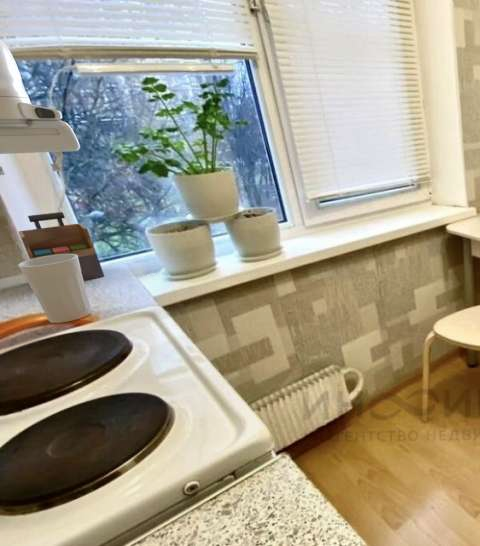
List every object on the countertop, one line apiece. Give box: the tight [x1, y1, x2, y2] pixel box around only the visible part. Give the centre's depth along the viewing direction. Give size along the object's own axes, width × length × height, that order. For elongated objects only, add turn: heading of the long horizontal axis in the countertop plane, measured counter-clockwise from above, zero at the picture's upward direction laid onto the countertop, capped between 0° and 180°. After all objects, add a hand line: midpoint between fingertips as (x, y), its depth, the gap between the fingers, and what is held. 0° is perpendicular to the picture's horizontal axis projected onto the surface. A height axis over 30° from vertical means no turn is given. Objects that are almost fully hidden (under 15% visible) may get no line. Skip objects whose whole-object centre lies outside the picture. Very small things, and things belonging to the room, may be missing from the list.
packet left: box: [33, 249, 53, 257], centre depth 102 cm, size 3×5×1 cm, turn 51°
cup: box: [17, 254, 93, 324], centre depth 83 cm, size 8×8×12 cm
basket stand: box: [78, 253, 105, 282], centre depth 105 cm, size 11×10×6 cm
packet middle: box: [51, 246, 71, 254], centre depth 104 cm, size 3×5×1 cm, turn 51°
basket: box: [17, 211, 97, 260], centre depth 103 cm, size 11×10×10 cm
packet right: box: [69, 243, 88, 251], centre depth 106 cm, size 3×5×1 cm, turn 51°
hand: (29, 173), depth 100 cm, fingers open, 8 cm apart
